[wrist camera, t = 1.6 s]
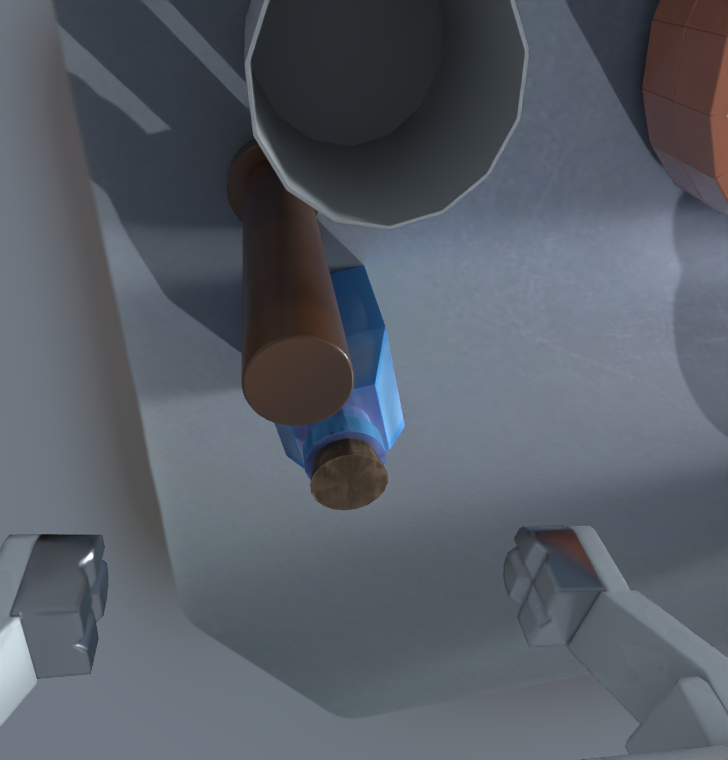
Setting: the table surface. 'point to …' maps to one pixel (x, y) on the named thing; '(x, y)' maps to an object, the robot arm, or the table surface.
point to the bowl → (690, 96)
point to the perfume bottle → (353, 409)
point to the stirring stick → (286, 301)
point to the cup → (384, 100)
